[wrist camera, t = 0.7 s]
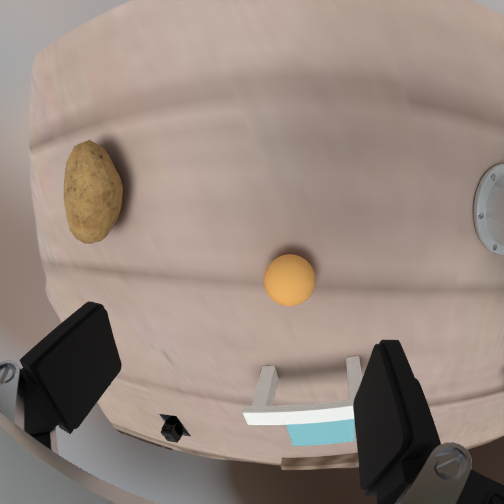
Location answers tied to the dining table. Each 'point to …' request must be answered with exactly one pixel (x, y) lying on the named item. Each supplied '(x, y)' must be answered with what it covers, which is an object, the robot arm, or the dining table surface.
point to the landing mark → (321, 432)
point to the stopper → (320, 462)
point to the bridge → (302, 413)
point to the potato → (91, 192)
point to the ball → (289, 280)
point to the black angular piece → (173, 428)
